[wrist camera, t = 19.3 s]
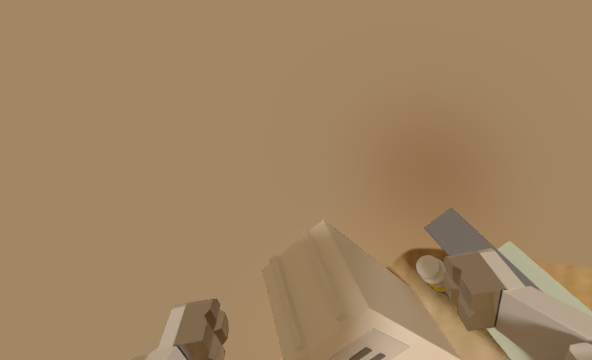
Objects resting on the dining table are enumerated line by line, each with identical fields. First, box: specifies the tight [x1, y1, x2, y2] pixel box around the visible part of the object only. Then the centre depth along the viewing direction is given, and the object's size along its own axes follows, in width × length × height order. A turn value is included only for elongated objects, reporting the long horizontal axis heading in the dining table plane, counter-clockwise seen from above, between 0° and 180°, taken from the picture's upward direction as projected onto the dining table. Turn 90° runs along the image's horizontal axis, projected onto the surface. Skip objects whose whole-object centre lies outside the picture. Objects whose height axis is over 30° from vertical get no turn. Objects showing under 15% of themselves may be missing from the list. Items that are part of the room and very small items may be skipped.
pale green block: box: [487, 241, 592, 360], centre depth 37 cm, size 10×8×24 cm
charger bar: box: [425, 207, 541, 291], centre depth 30 cm, size 20×4×3 cm, turn 21°
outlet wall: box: [263, 220, 461, 360], centre depth 47 cm, size 14×12×32 cm
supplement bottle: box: [416, 255, 447, 293], centre depth 55 cm, size 5×5×8 cm
